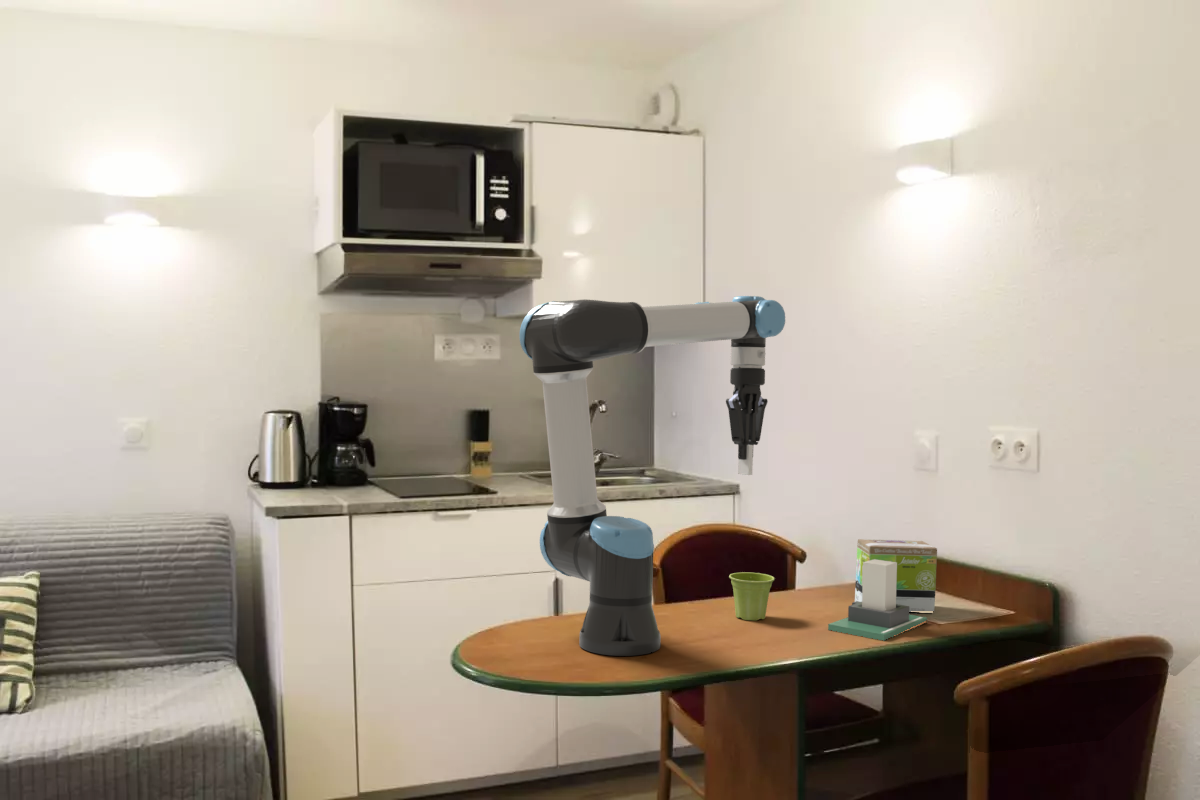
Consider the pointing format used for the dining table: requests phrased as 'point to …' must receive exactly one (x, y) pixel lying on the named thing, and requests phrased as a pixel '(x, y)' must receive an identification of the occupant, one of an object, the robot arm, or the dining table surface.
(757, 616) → the plant pot
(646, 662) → the dining table surface
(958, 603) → the dining table surface
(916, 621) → the board
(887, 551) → the tea box
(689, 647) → the dining table surface
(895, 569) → the plug
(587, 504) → the robot arm
